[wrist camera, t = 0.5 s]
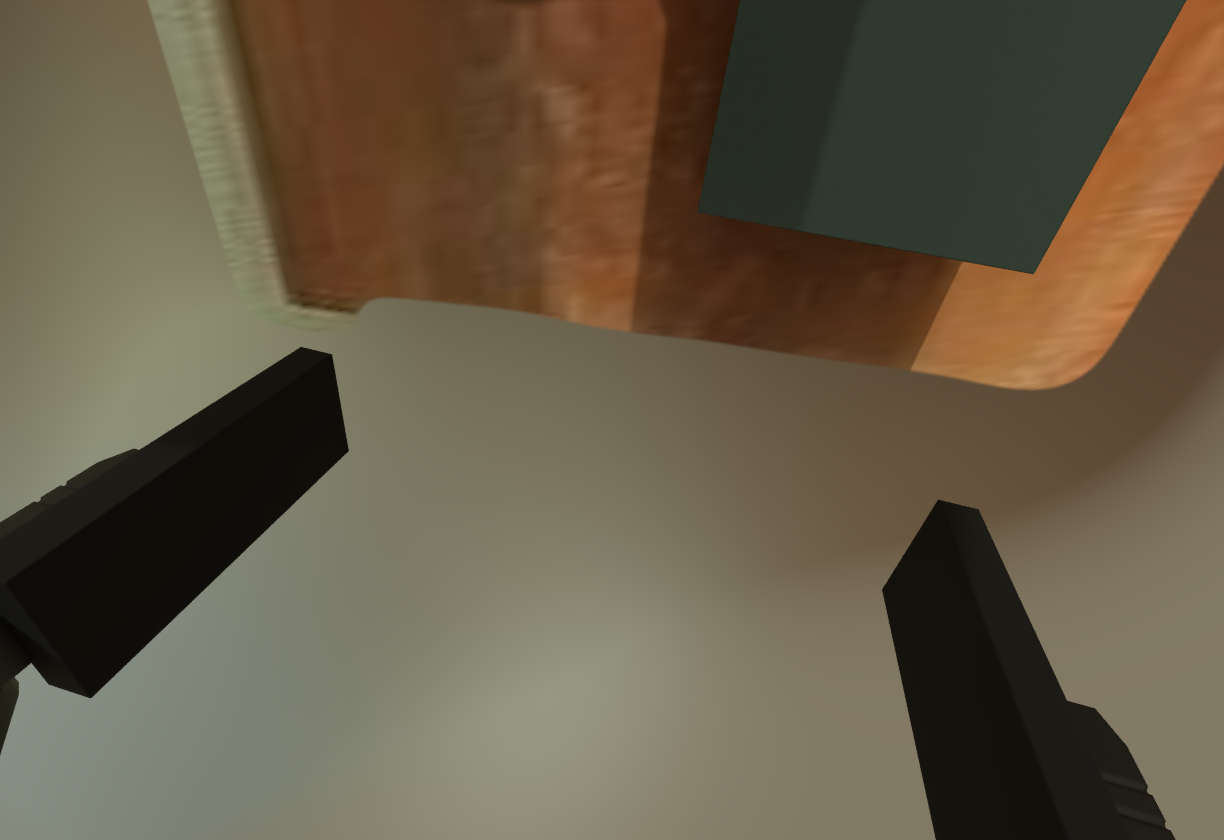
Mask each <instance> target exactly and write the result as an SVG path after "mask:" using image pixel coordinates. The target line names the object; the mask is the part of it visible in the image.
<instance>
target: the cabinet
mask: <svg viewBox="0 0 1224 840" xmlns="http://www.w3.org/2000/svg"><path fill="white" fill-rule="evenodd" d="M1185 2H1186V0H740V3H739V8H738V12H737V17H736V22H735V27H734V32H733V37H732V42H731V47H730V52H729V57H728V62H727V67H726V72H725V77H724V82H723V87H722V92H721V97H720V102H719V107H718V112H717V117H716V122H715V127H714V132H713V136H712V141H711V146H710V151H709V156H708V161H707V166H706V171H705V176H704V181H703V186H702V191H701V196H700V201H699V206H698V212H699V213H703V214H708V215H714V216H719V217H725V218H730V219H736V220H741V221H747V222H752V223H757V224H763V225H768V226H774V227H779V228H785V229H790V230H796V231H801V232H806V233H812V234H817V235H823V236H828V237H834V238H839V239H844V240H850V241H855V242H861V243H866V244H872V245H877V246H883V247H888V248H893V249H899V250H904V251H910V252H915V253H921V254H926V255H931V256H937V257H942V258H948V259H953V260H959V261H964V262H970V263H975V264H980V265H986V266H991V267H997V268H1002V269H1008V270H1013V271H1018V272H1024V273H1029V274H1034V273H1035V271H1036V269H1037V267H1038V266H1039V264H1040V262H1041V260H1042V258H1043V257H1044V255H1045V253H1046V251H1047V250H1048V248H1049V246H1050V244H1051V242H1052V241H1053V239H1054V237H1055V235H1056V233H1057V232H1058V230H1059V228H1060V226H1061V224H1062V223H1063V221H1064V219H1065V217H1066V215H1067V214H1068V212H1069V210H1070V208H1071V206H1072V205H1073V203H1074V201H1075V199H1076V197H1077V196H1078V194H1079V192H1080V190H1081V188H1082V187H1083V185H1084V183H1085V181H1086V179H1087V178H1088V176H1089V174H1090V172H1091V171H1092V169H1093V167H1094V165H1095V163H1096V162H1097V160H1098V158H1099V156H1100V154H1101V153H1102V151H1103V149H1104V147H1105V145H1106V144H1107V142H1108V140H1109V138H1110V136H1111V135H1112V133H1113V131H1114V129H1115V127H1116V126H1117V124H1118V122H1119V120H1120V118H1121V117H1122V115H1123V113H1124V111H1125V109H1126V108H1127V106H1128V104H1129V102H1130V100H1131V99H1132V97H1133V95H1134V93H1135V92H1136V90H1137V88H1138V86H1139V84H1140V83H1141V81H1142V79H1143V77H1144V75H1145V74H1146V72H1147V70H1148V68H1149V66H1150V65H1151V63H1152V61H1153V59H1154V57H1155V56H1156V54H1157V52H1158V50H1159V48H1160V47H1161V45H1162V43H1163V41H1164V39H1165V38H1166V36H1167V34H1168V32H1169V30H1170V29H1171V27H1172V25H1173V23H1174V21H1175V20H1176V18H1177V16H1178V14H1179V13H1180V11H1181V9H1182V7H1183V5H1184V4H1185Z"/></svg>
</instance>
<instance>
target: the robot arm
mask: <svg viewBox="0 0 1224 840" xmlns="http://www.w3.org/2000/svg"><path fill="white" fill-rule="evenodd" d="M348 451H349V449H348V444H347V438H346V433H345V427H344V421H343V415H342V409H341V403H340V398H339V392H338V386H337V380H336V374H335V369H334V363H333V358H332V354H328V353H324V352H320V351H316V350H312V349H308V348H303V347H300V348H299V349H297V350H295V351H294V352H292V353H291V354H289V355H288V356H286V357H284V358H283V359H281V360H280V361H278V362H277V363H275V364H273V365H272V366H270V367H269V368H267V369H266V370H264V371H263V372H261V373H260V374H258V375H256V376H255V377H253V378H251V379H250V380H248V381H247V382H245V383H244V384H242V385H240V386H239V387H237V388H236V389H234V390H233V391H231V392H230V393H228V394H227V395H225V396H223V397H222V398H220V399H219V400H217V401H216V402H214V403H212V404H211V405H209V406H208V407H206V408H205V409H203V410H202V411H200V412H198V413H197V414H195V415H193V416H192V417H191V418H189V419H187V420H186V421H184V422H182V423H181V424H180V425H178V426H176V427H175V428H173V429H171V430H170V431H168V432H167V433H165V434H164V435H162V436H161V437H159V438H157V439H156V440H154V441H153V442H151V443H150V444H148V445H146V446H145V447H144V448H142V449H140V450H137V449H132V450H129V451H126V452H124V453H121V454H119V455H116V456H113V457H111V458H108V459H105V460H103V461H100V462H98V463H96V464H94V465H93V466H91V467H89V468H88V469H86V470H85V471H83V472H81V473H80V474H78V475H76V476H75V477H73V478H72V479H70V480H68V481H67V483H66V485H65V486H59V487H57V488H55V489H54V490H52V491H50V492H49V493H47V494H46V495H44V496H42V497H41V500H40V501H39V502H33V503H31V504H29V505H28V506H26V507H24V508H23V509H21V510H20V511H18V512H16V513H15V514H13V515H12V516H10V517H8V518H7V519H5V520H3V521H2V522H0V754H1V750H2V747H3V744H4V741H5V738H6V734H7V731H8V728H9V725H10V721H11V718H12V715H13V711H14V708H15V705H16V702H17V699H18V695H19V682H18V681H17V680H16V679H15V676H16V675H17V674H18V673H20V672H21V671H22V670H23V669H24V668H25V667H27V666H28V665H29V664H30V663H32V664H33V665H34V667H35V668H36V669H37V670H38V672H39V673H40V674H41V675H42V677H43V678H44V679H45V680H46V682H47V683H48V684H49V685H52V686H55V687H58V688H61V689H64V690H67V691H70V692H73V693H76V694H79V695H82V696H85V697H88V698H92V697H93V696H94V695H95V694H96V693H97V692H98V691H99V690H100V689H101V688H102V687H103V686H104V685H105V684H106V683H107V682H108V681H109V680H111V679H112V678H113V677H114V676H115V675H116V674H117V673H118V672H119V671H120V670H121V669H122V668H123V667H124V666H125V665H126V664H127V663H128V662H129V661H130V660H131V659H132V658H133V657H135V656H136V654H138V653H139V652H140V651H141V650H142V649H143V648H144V647H145V646H146V645H147V644H148V643H149V642H150V641H151V640H152V639H153V638H154V637H155V636H156V635H157V634H158V633H160V632H161V631H162V630H163V629H164V628H165V627H166V626H167V625H168V624H169V623H170V622H171V621H172V620H173V619H174V618H175V617H176V616H177V615H178V614H179V613H180V612H181V611H183V610H184V609H185V608H186V607H187V606H188V605H189V604H190V603H191V602H192V601H193V600H194V599H195V598H196V597H197V596H198V595H199V594H200V593H201V592H202V591H203V590H204V589H205V588H206V587H207V586H208V585H210V584H211V583H212V582H213V581H214V580H215V579H216V578H217V577H218V576H219V575H220V574H221V573H222V572H223V571H224V570H225V569H226V568H227V567H228V566H229V565H230V564H231V563H233V562H234V560H236V559H237V558H238V557H239V556H240V555H241V554H242V553H243V552H244V551H245V550H246V549H247V548H248V547H249V546H250V545H251V544H252V543H253V542H254V541H255V540H256V539H257V538H259V537H260V536H261V535H262V534H263V533H264V532H265V531H266V530H267V529H268V528H269V527H270V526H271V525H272V524H273V523H274V522H275V521H276V520H277V519H278V518H279V517H280V516H281V515H282V514H284V513H285V512H286V511H287V510H288V509H289V508H290V507H291V506H292V505H293V504H294V503H295V502H296V501H297V500H298V499H299V498H300V497H301V496H302V495H303V494H304V493H305V492H307V490H309V488H311V487H312V486H313V485H314V484H315V483H316V482H317V481H318V480H319V479H320V478H321V477H322V476H323V475H324V474H325V473H326V472H327V471H328V470H329V469H330V468H331V467H333V466H334V465H335V464H336V463H337V462H338V461H339V460H340V459H341V458H342V457H343V456H344V455H345V454H346V453H347V452H348ZM882 591H883V596H884V601H885V605H886V610H887V614H888V619H889V624H890V628H891V633H892V638H893V642H894V647H895V652H896V656H897V661H898V665H899V670H900V675H901V679H902V684H903V689H904V693H905V698H906V703H907V707H908V712H909V717H910V721H911V726H912V731H913V735H914V740H915V745H916V749H917V754H918V758H919V763H920V768H921V773H922V777H923V782H924V786H925V791H926V795H927V801H928V805H929V809H930V814H931V819H932V823H933V828H934V833H935V838H936V840H1175V838H1174V836H1173V834H1172V832H1171V831H1170V830H1168V829H1166V827H1165V822H1166V821H1165V819H1164V817H1163V815H1162V813H1161V811H1160V809H1159V807H1158V805H1157V803H1156V801H1155V799H1154V797H1153V796H1152V795H1150V794H1148V792H1147V788H1148V786H1147V784H1146V782H1145V780H1144V778H1143V776H1142V774H1141V772H1140V770H1139V768H1138V767H1137V765H1136V763H1135V761H1134V759H1133V757H1132V755H1131V753H1130V751H1129V749H1128V747H1127V746H1126V745H1125V743H1124V742H1123V741H1122V740H1121V739H1120V738H1119V736H1118V735H1117V734H1116V733H1115V732H1114V730H1113V729H1112V728H1111V727H1110V726H1109V725H1108V723H1107V722H1106V721H1105V720H1104V719H1103V717H1102V716H1101V715H1100V714H1099V713H1098V712H1097V710H1096V709H1095V708H1091V707H1088V706H1084V705H1080V704H1077V703H1073V702H1070V701H1067V700H1066V698H1065V695H1064V693H1063V691H1062V689H1061V687H1060V685H1059V682H1058V680H1057V678H1056V676H1055V674H1054V672H1053V670H1052V667H1051V665H1050V663H1049V661H1048V659H1047V657H1046V654H1045V652H1044V650H1043V648H1042V646H1041V644H1040V641H1039V639H1038V637H1037V635H1036V633H1035V631H1034V628H1033V626H1032V624H1031V622H1030V620H1029V618H1028V615H1027V613H1026V611H1025V609H1024V607H1023V605H1022V602H1021V600H1020V598H1019V597H1018V594H1017V592H1016V590H1015V587H1014V585H1013V583H1012V581H1011V579H1010V577H1009V574H1008V572H1007V570H1006V568H1005V566H1004V564H1003V561H1002V559H1001V557H1000V555H999V553H998V551H997V549H996V546H995V544H994V542H993V540H992V538H991V535H990V533H989V531H988V529H987V527H986V525H985V522H984V520H983V518H982V516H981V514H980V512H979V510H978V509H974V508H970V507H966V506H962V505H958V504H954V503H950V502H945V501H941V500H938V501H937V502H936V504H935V506H934V507H933V509H932V510H931V512H930V514H929V515H928V517H927V518H926V520H925V522H924V523H923V525H922V526H921V528H920V530H919V531H918V533H917V535H916V536H915V538H914V539H913V541H912V542H911V544H910V546H909V547H908V549H907V551H906V552H905V554H904V555H903V557H902V559H901V560H900V562H899V563H898V565H897V567H896V568H895V570H894V571H893V573H892V575H891V576H890V578H889V579H888V581H887V583H886V584H885V586H884V587H883V589H882Z"/></svg>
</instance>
